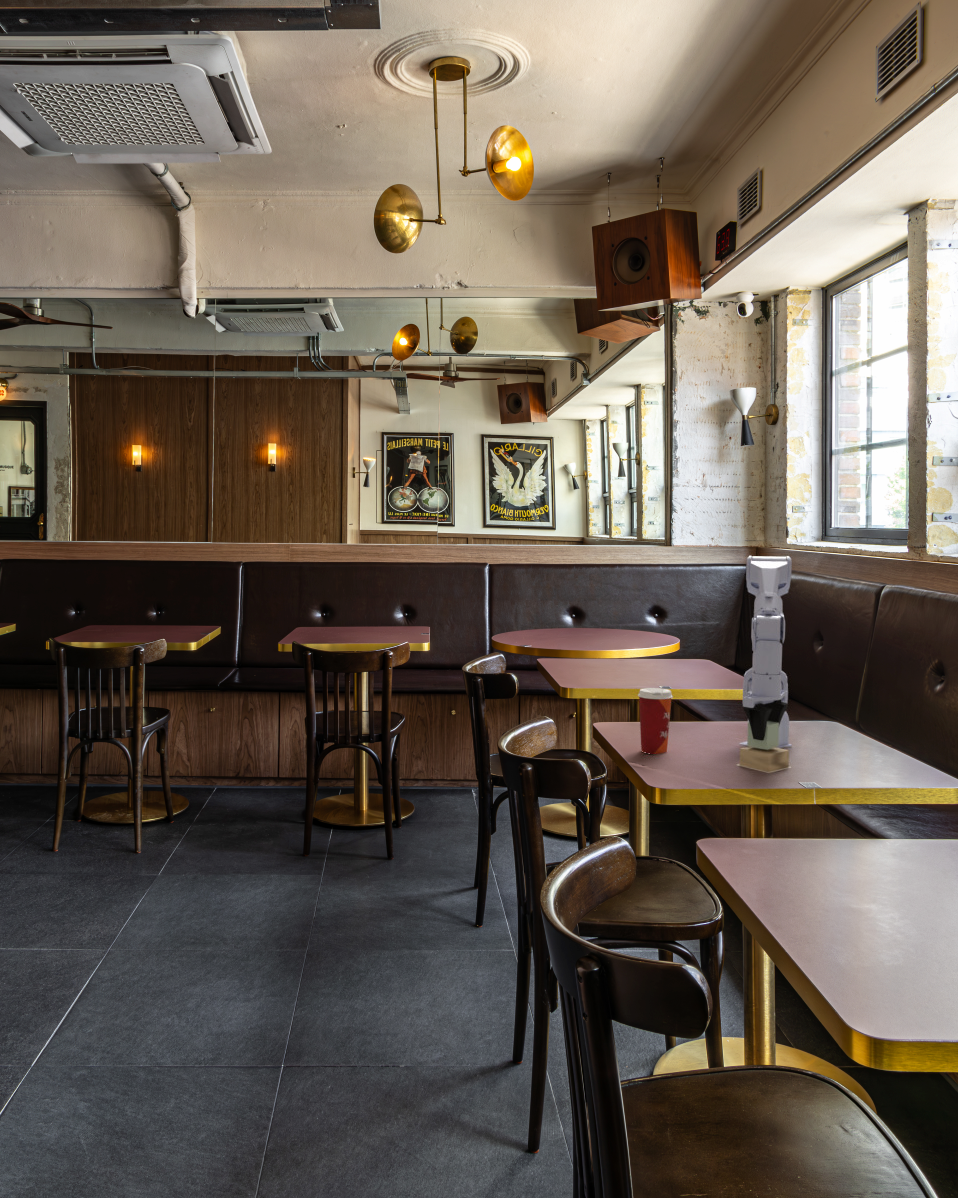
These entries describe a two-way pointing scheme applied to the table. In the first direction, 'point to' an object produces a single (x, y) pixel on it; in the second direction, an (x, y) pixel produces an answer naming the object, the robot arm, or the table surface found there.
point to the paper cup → (654, 719)
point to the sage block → (769, 739)
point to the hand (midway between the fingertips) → (764, 738)
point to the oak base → (764, 758)
